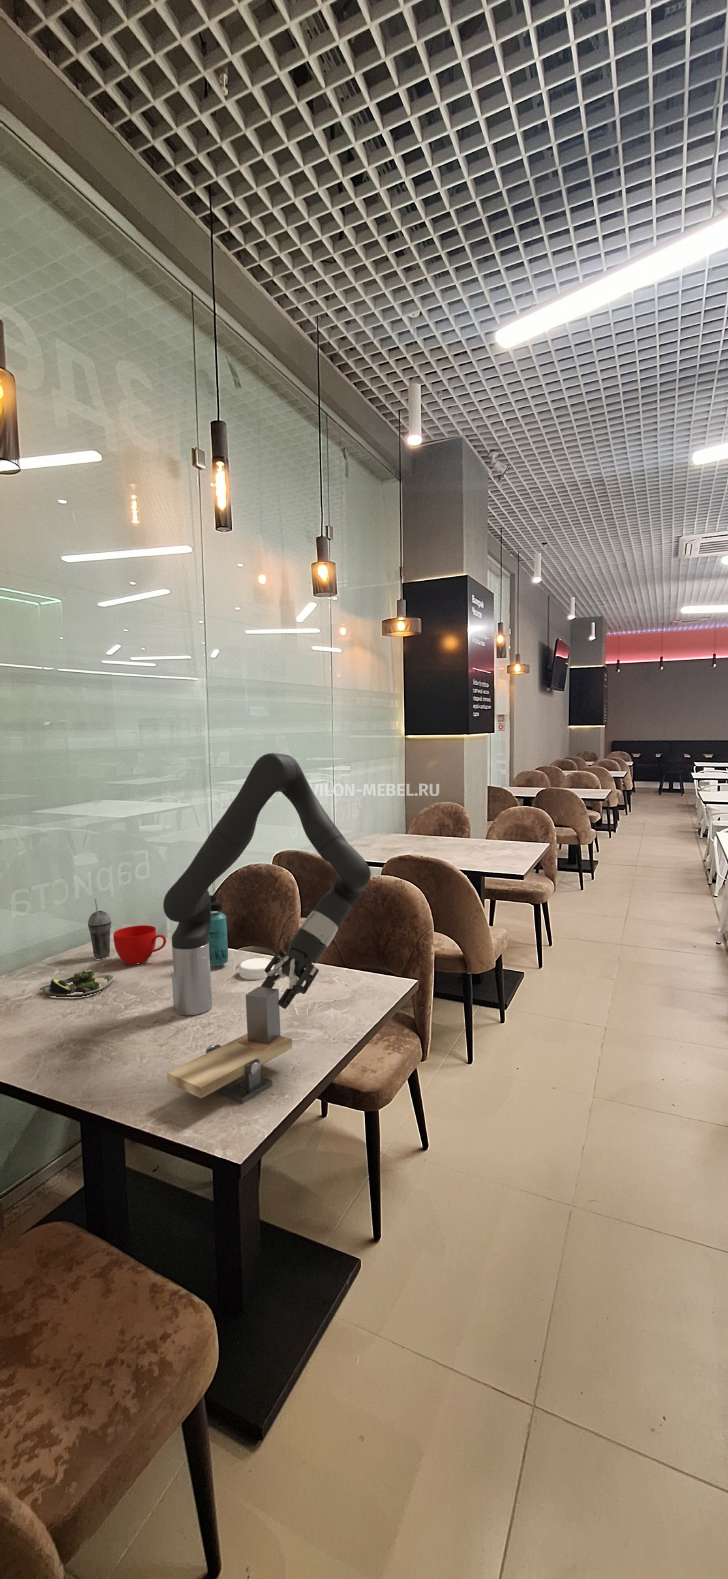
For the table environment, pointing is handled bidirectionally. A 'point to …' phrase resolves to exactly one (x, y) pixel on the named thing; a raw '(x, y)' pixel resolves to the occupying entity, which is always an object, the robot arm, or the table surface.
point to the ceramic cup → (136, 943)
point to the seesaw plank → (224, 1064)
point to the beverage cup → (100, 933)
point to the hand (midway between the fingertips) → (271, 1000)
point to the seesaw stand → (245, 1082)
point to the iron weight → (263, 1015)
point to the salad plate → (77, 984)
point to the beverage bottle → (218, 936)
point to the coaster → (254, 968)
